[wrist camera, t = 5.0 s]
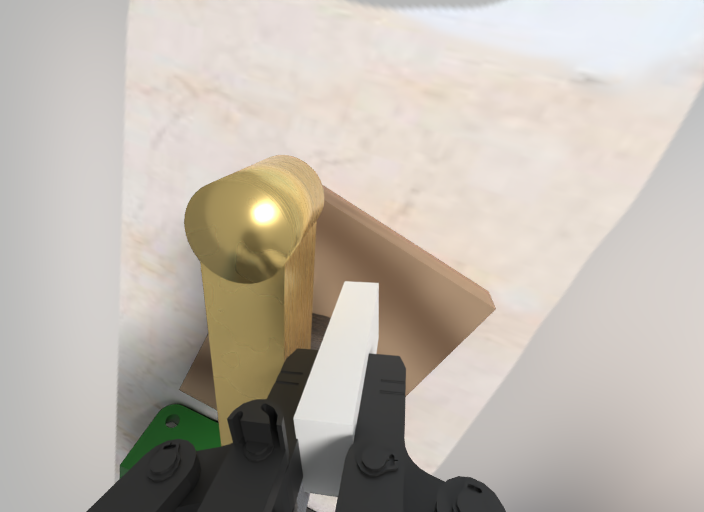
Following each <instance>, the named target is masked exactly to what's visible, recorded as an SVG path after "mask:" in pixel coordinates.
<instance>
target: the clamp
mask: <svg viewBox="0 0 704 512" xmlns="http://www.w3.org/2000/svg"><path fill="white" fill-rule="evenodd" d="M169 422H174V423H176V424H177V426H176V427H174V428H169V427H167V426H166V424H167V423H169ZM174 439H183V440H188V441H189V442H190V443H191V444H193V445H194V447H195V450H196V451H199V450H205V449H210V448H216V447H221V438H220V430H219V424H218V423H216V422H214V421H212V420H210V419H208V418H206V417H204V416H202V415H200V414H198V413H196V412H194V411H192V410H190V409H188V408H186V407H184V406H182V405H179V404H172V405H168V406H166V407H164V408H163V409H162V410H160V411H159V413H158V414H157V415H156V417H155V418H154V419H153V421H152V422H151V423H150V425H149V426H148V428H147V429H146V430H145V432H144V433H143V434H142V436H141V437H140V438H139V440H138V441H137V443H136V444H135V445H134V447H133V448H132V449H131V451H130V452H129V453H128V455H127V456H126V458H125V459H124V460H123V462H122V463H121V464H120V478H121V477H122V476H124V475H125V474H126V473H127V472H128V471H129V470H130V469H131V468H132V467H133V466H134V465H135V464H136V463H137V462H138V461H139V460H140V459H141V458H142V457H143V456H144V455H145V454H146V453H148V452H149V451H150V450H151V449H153V448H154V447H155V446H157V445H159V444H162V443H164V442H166V441H169V440H174Z"/></svg>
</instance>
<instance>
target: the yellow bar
mask: <svg viewBox="0 0 704 512" xmlns="http://www.w3.org/2000/svg"><path fill="white" fill-rule="evenodd" d="M323 206H324V190H323V186H322V183H321V181H320V179H319V177H318V175H317V174H316V172H315V171H314V170H313V169H312V168H311V167H310V166H309V165H308V164H307V163H305V162H304V161H302V160H300V159H298V158H295V157H292V156H288V155H276V156H272V157H269V158H267V159H265V160H262V161H260V162H258V163H255V164H253V165H251V166H249V167H246V168H244V169H242V170H239V171H237V172H235V173H233V174H230V175H228V176H226V177H224V178H221V179H219V180H217V181H214V182H212V183H210V184H208V185H205V186H204V187H202V188H200V189H199V190H198V191H197V192H196V193H195V194H194V195H193V196H192V198H191V199H190V201H189V203H188V205H187V208H186V212H185V220H184V224H185V232H186V236H187V239H188V242H189V244H190V246H191V248H192V250H193V252H194V253H195V255H196V256H197V258H198V259H199V260H200V263H201V272H202V280H203V289H204V298H205V307H206V315H207V324H208V333H209V342H210V351H211V359H212V368H213V377H214V386H215V394H216V403H217V412H218V421H219V430H220V438H221V446H224V445H228V444H231V443H233V441H232V437H231V433H230V429H229V425H228V421H227V418H228V417H229V415H230V414H231V413H232V412H233V411H234V410H235V409H236V408H238V407H239V406H240V405H242V404H243V403H246V402H249V401H252V400H256V399H267V397H268V395H269V393H270V391H271V389H272V387H273V385H274V383H275V382H276V379H277V377H278V375H279V373H280V371H281V368H282V366H283V364H284V362H285V360H286V358H287V357H288V356H290V355H291V354H292V353H293V352H294V351H295V350H296V349H297V348H301V349H310V347H311V327H312V306H313V285H314V264H315V244H316V223H317V219H318V218H319V216H320V214H321V212H322V210H323ZM309 496H310V493H308V492H304V489H303V482H302V483H301V486H300V490H299V493H298V497H297V505H298V509H297V512H306V508H307V504H308V500H309Z"/></svg>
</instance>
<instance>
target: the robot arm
mask: <svg viewBox="0 0 704 512" xmlns="http://www.w3.org/2000/svg"><path fill="white" fill-rule="evenodd" d="M378 339H379V283H370V282H350V281H345V282H344V285H343V287H342V290H341V293H340V295H339V298H338V301H337V303H336V306H335V309H334V311H333V314H332V317H331V319H330V322H329V325H328V327H327V330H326V333H325V335H324V338H323V341H322V343H321V346H320V349H319V350H312V349H301V348H297V349H296V350H295V351H294V352H293V353H292V354H291V355H290V356H288V357H287V358H286V360H285V362H284V364H283V366H282V368H281V371H280V373H279V375H278V377H277V379H276V382H275V383H274V385H273V387H272V389H271V391H270V393H269V395H268V397H267V399H256V400H252V401H249V402H246V403H243V404H242V405H240V406H239V407H238V408H236V409H235V410H234V411H233V412H232V413H231V414H230V415H229V417H228V418H227V421H228V425H229V429H230V433H231V437H232V441H233V443H231V444H228V445H224V446H221V447H216V448H210V449H205V450H199V451H196V450H195V447H194V445H193V444H191V443H190V442H189V441H188V440H183V439H174V440H169V441H166V442H164V443H162V444H159V445H157V446H155V447H154V448H153V449H151V450H150V451H149V452H148V453H146V454H145V455H144V456H143V457H142V458H141V459H140V460H139V461H138V462H137V463H136V464H135V465H134V466H133V467H132V468H131V469H130V470H129V471H128V472H127V473H126V474H125V475H124V476H122V477H121V478H120V479H119V480H118V481H117V482H116V483H115V484H114V485H113V486H112V487H111V488H110V489H109V490H108V491H107V492H106V493H105V494H104V495H103V496H102V497H101V498H100V499H99V500H98V501H97V502H96V503H95V504H94V505H93V506H92V507H91V508H90V509H89V510H88V511H87V512H297V509H298V505H297V497H298V493H299V490H300V486H301V483H302V482H303V489H304V492H308V493H315V494H321V495H327V496H335V497H338V499H337V505H336V510H335V512H506V511H505V509H504V507H503V506H502V504H501V502H500V500H499V499H498V497H497V496H496V495H495V493H494V492H493V491H492V490H491V489H489V488H488V487H487V486H486V485H485V484H484V483H482V482H479V481H477V480H475V479H473V478H471V477H460V476H458V477H455V478H452V479H449V480H447V481H446V482H444V481H442V480H440V479H438V478H436V477H434V476H432V475H430V474H428V473H426V472H425V471H423V470H421V469H420V468H419V467H418V466H417V465H416V464H415V463H414V462H413V461H412V459H411V458H410V457H409V455H408V453H407V450H406V448H405V441H404V430H405V391H406V367H405V365H404V363H403V361H402V359H401V357H400V356H395V355H383V354H376V353H377V346H378ZM306 512H314V511H312V510H310V509H308V508H306Z"/></svg>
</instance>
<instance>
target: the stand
mask: <svg viewBox="0 0 704 512" xmlns="http://www.w3.org/2000/svg"><path fill="white" fill-rule="evenodd" d="M322 186H323V185H322ZM323 190H324V206H323V210H322V212H321V214H320V216H319V218H318V219H317V223H316V244H315V264H314V285H313V306H312V313H315V314H321V315H324V316H327V317H330V318H331V317H332V314H333V311H334V309H335V306H336V303H337V301H338V298H339V295H340V293H341V290H342V287H343V285H344V282H345V281H350V282H370V283H379V339H378V346H377V353H376V354H383V355H395V356H400V357H401V359H402V361H403V363H404V365H405V367H406V391H405V397H406V396H407V395H408V394H409V393H410V392H411V391H412V390H413V389H414V388H415V387H416V386H417V385H418V384H419V383H420V382H421V381H422V380H423V379H424V378H425V377H426V376H427V375H428V374H429V373H430V372H431V371H432V370H434V369H435V368H436V367H437V366H438V365H439V364H440V363H441V362H442V361H443V360H444V359H445V358H446V357H447V356H448V355H449V354H450V353H451V352H452V351H453V350H454V349H455V348H456V347H457V346H458V345H459V344H460V343H461V342H462V341H463V340H464V339H465V338H466V337H468V336H469V335H470V334H471V333H472V332H473V331H474V330H475V329H476V328H477V327H478V326H479V325H480V324H481V323H482V322H483V321H484V320H485V319H486V318H487V317H488V316H489V315H490V314H491V313H492V312H493V311H494V310H495V309H496V308H495V306H494V303H493V301H492V299H491V296H490V294H489V292H488V291H487V290H485V289H484V288H482V287H481V286H479V285H477V284H476V283H474V282H473V281H471V280H470V279H468V278H467V277H465V276H463V275H462V274H460V273H459V272H457V271H456V270H454V269H452V268H451V267H449V266H448V265H446V264H445V263H443V262H442V261H440V260H438V259H437V258H435V257H434V256H432V255H431V254H429V253H428V252H426V251H424V250H423V249H421V248H420V247H418V246H417V245H415V244H414V243H412V242H410V241H409V240H407V239H406V238H404V237H403V236H401V235H400V234H398V233H396V232H395V231H393V230H392V229H390V228H389V227H387V226H385V225H384V224H382V223H381V222H379V221H378V220H376V219H375V218H373V217H371V216H370V215H368V214H367V213H365V212H364V211H362V210H361V209H359V208H357V207H356V206H354V205H353V204H351V203H350V202H348V201H347V200H345V199H343V198H342V197H340V196H339V195H337V194H336V193H334V192H332V191H331V190H329V189H328V188H326V187H325V186H323ZM179 390H180V391H182V392H184V393H186V394H188V395H190V396H191V397H193V398H195V399H197V400H199V401H201V402H203V403H204V404H206V405H208V406H210V407H212V408H214V409H216V410H217V403H216V394H215V386H214V377H213V368H212V359H211V351H210V342H209V333H208V335H207V337H206V339H205V341H204V343H203V345H202V347H201V349H200V350H199V352H198V354H197V356H196V358H195V360H194V362H193V364H192V366H191V368H190V370H189V372H188V373H187V375H186V377H185V379H184V381H183V383H182V385H181V387H180V389H179Z"/></svg>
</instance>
